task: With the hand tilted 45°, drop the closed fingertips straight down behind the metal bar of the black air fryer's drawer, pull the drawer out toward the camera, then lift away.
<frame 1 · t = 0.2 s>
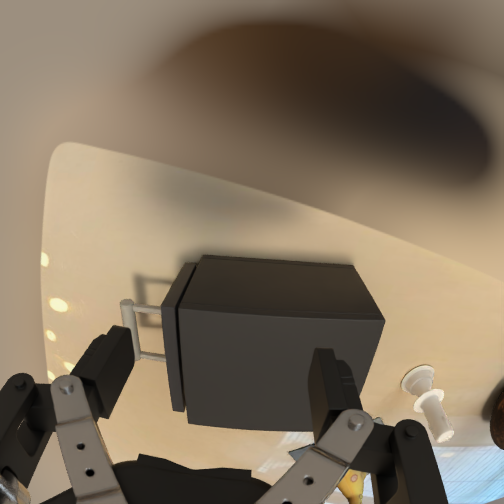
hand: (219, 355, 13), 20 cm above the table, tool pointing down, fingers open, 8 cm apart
candle: (417, 377, 39), on the table
drawer: (221, 342, 31), point 5 cm above the table, slide at 0.5 cm
air fryer: (273, 316, 36), on the table
stuffed giraffe: (350, 456, 46), on the table
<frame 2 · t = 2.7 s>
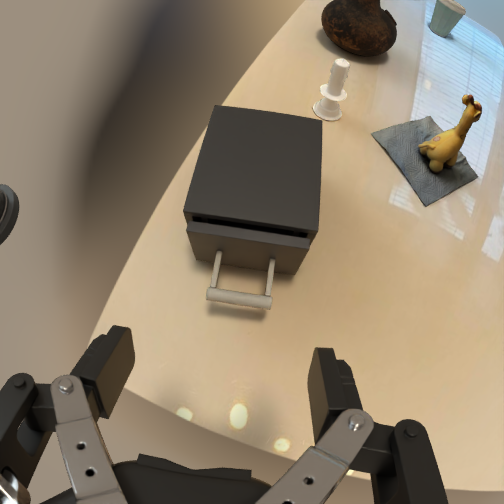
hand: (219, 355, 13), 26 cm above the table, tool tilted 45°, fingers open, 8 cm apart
glass bottle: (352, 45, 63), on the table
candle: (327, 111, 53), on the table
disposable coffee cup: (438, 32, 74), on the table
drawer: (251, 220, 38), point 5 cm above the table, slide at 0.5 cm
air fryer: (255, 205, 45), on the table
stuffed giraffe: (428, 156, 51), on the table
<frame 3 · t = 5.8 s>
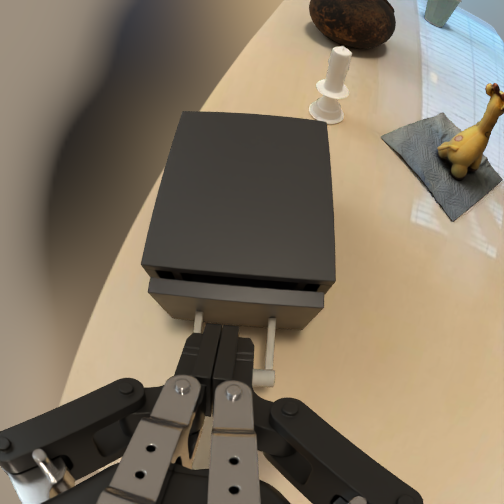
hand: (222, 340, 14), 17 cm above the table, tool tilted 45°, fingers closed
glass bottle: (346, 38, 55), on the table
candle: (326, 113, 44), on the table
disposable coffee cup: (434, 23, 67), on the table
drawer: (240, 265, 28), point 5 cm above the table, slide at 0.5 cm
air fryer: (245, 239, 35), on the table
stuffed giraffe: (448, 159, 42), on the table
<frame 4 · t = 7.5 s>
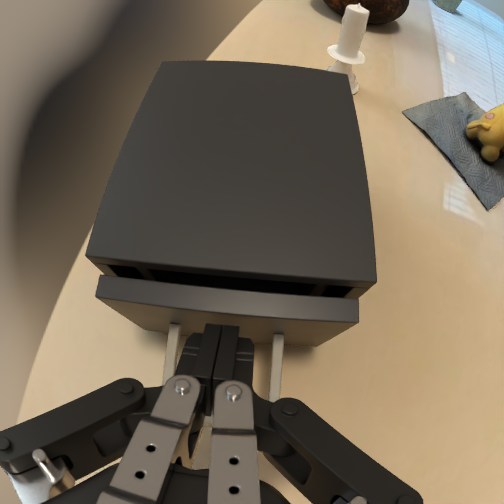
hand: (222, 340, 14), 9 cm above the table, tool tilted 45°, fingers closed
glass bottle: (355, 14, 47), on the table
candle: (338, 84, 36), on the table
disposable coffee cup: (444, 8, 59), on the table
drawer: (234, 258, 20), point 5 cm above the table, slide at 0.5 cm
air fryer: (241, 226, 27), on the table
stuffed giraffe: (475, 142, 34), on the table
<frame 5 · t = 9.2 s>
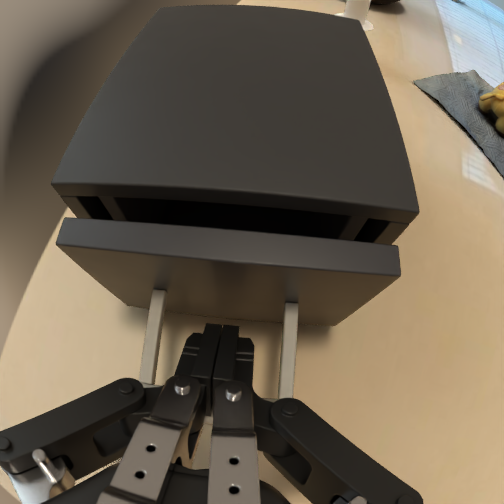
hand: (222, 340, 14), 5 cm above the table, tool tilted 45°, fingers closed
candle: (345, 54, 32), on the table
drawer: (235, 212, 16), point 5 cm above the table, slide at 0.9 cm, touching gripper
air fryer: (244, 185, 23), on the table
stuffed giraffe: (489, 116, 30), on the table
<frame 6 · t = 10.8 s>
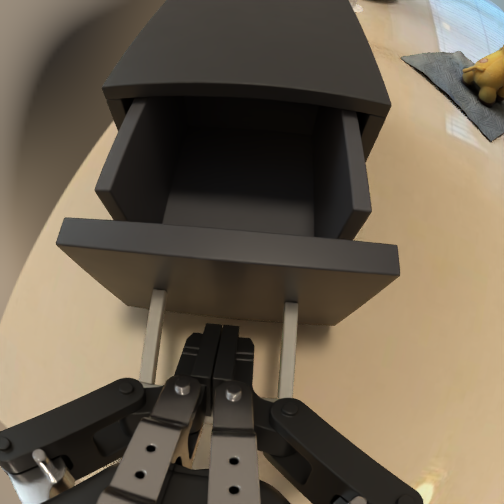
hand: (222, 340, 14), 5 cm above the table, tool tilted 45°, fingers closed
drawer: (234, 212, 16), point 5 cm above the table, slide at 6.7 cm, touching gripper
air fryer: (251, 130, 26), on the table
stuffed giraffe: (473, 89, 33), on the table
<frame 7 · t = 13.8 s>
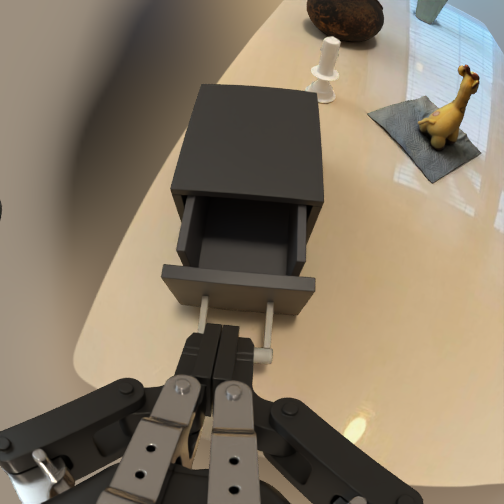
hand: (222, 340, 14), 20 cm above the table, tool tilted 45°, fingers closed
glass bottle: (340, 33, 61), on the table
candle: (320, 94, 50), on the table
disposable coffee cup: (424, 20, 73), on the table
drawer: (242, 255, 32), point 5 cm above the table, slide at 6.8 cm
air fryer: (251, 190, 41), on the table
stuffed giraffe: (428, 134, 48), on the table
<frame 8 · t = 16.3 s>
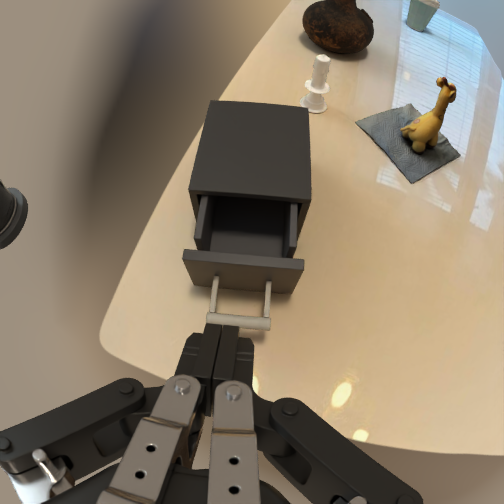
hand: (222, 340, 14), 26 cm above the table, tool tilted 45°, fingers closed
glass bottle: (333, 45, 68), on the table
candle: (313, 105, 57), on the table
disposable coffee cup: (415, 28, 81), on the table
drawer: (246, 243, 39), point 5 cm above the table, slide at 6.8 cm
air fryer: (252, 190, 48), on the table
stuffed giraffe: (411, 139, 55), on the table
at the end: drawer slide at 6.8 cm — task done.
